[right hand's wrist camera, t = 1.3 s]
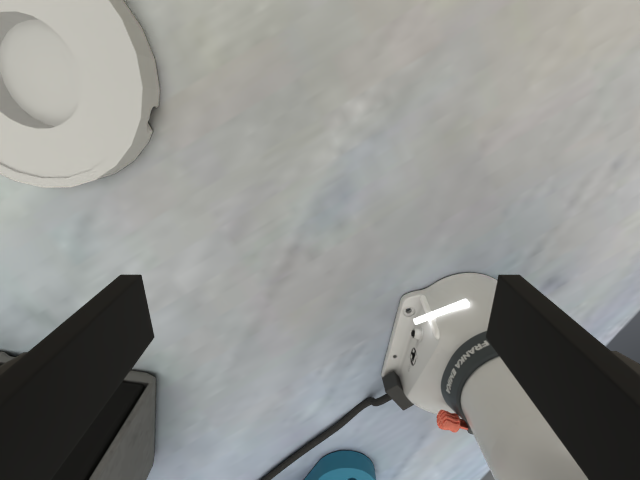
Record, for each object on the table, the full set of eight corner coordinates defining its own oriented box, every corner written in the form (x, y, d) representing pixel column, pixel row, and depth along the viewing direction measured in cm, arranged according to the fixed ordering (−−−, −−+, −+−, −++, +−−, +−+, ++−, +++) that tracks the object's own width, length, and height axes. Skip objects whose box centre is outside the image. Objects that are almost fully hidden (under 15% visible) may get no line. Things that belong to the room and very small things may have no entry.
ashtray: (38, 210, 43) (12, 219, 39) (-111, 11, 36) (-161, 0, 32) (198, 133, 40) (186, 136, 36) (72, -103, 32) (39, -131, 28)
